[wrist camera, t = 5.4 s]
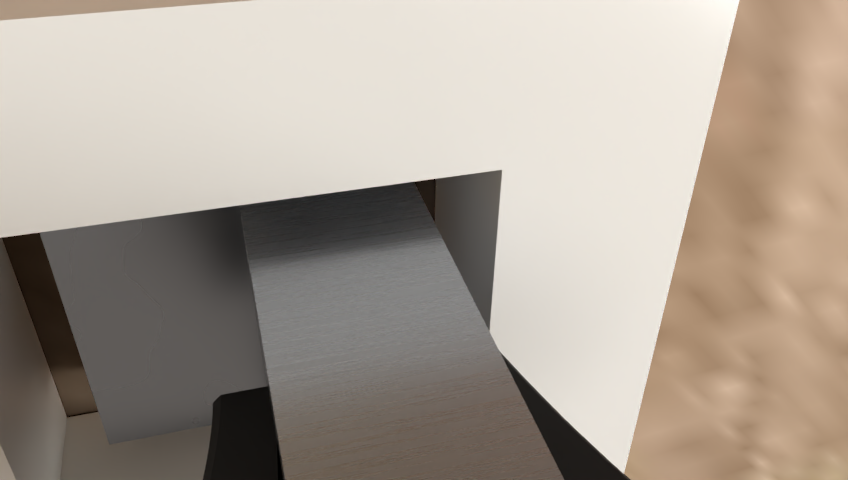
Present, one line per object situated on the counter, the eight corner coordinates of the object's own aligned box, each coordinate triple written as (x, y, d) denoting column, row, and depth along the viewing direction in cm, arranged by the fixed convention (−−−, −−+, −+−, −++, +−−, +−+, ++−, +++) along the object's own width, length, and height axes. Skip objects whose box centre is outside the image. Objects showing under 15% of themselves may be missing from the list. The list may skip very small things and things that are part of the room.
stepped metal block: (378, 111, 13) (567, 483, 7) (383, 321, 16) (523, 719, 10) (47, 149, 12) (-51, 629, 6) (113, 368, 15) (88, 850, 9)
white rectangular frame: (633, -99, 12) (749, -40, 10) (555, 406, 19) (613, 514, 16) (-396, -38, 9) (-580, 66, 7) (-66, 535, 16) (-103, 690, 13)
